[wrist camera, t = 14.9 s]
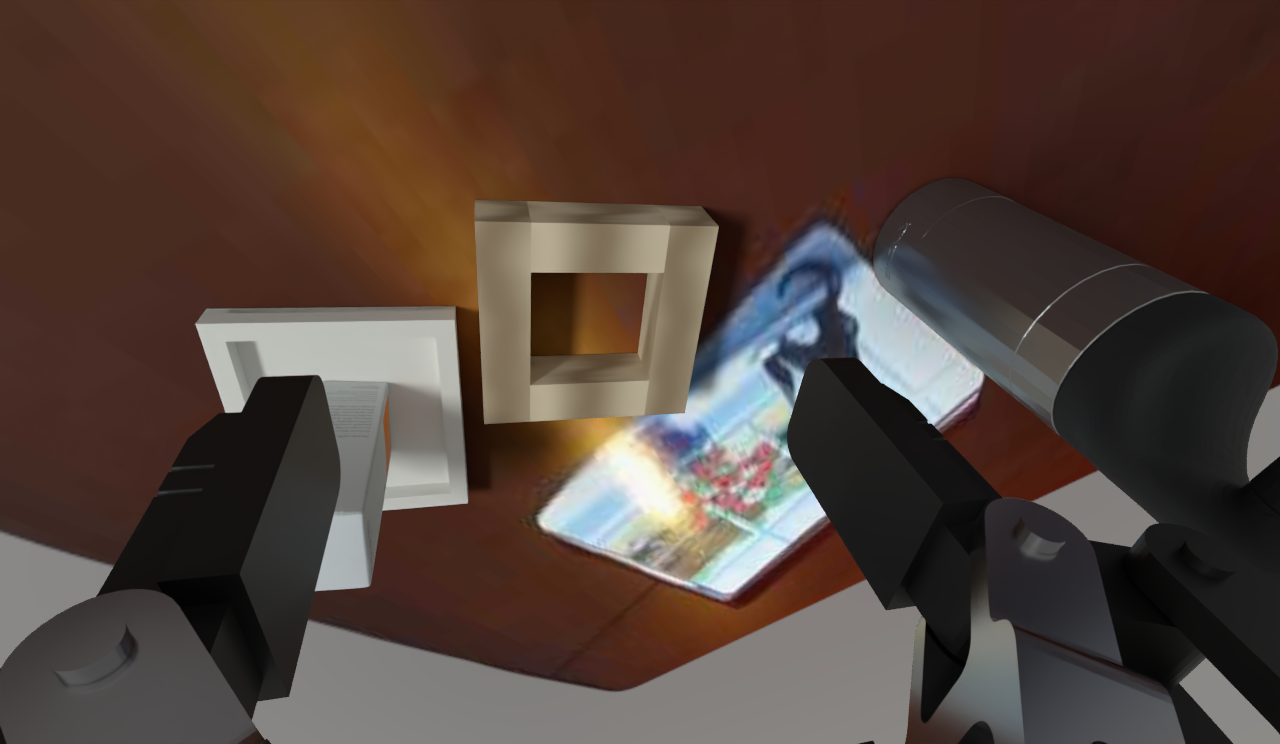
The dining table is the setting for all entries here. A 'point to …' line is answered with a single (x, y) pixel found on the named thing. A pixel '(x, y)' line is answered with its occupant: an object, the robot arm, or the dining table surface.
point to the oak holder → (590, 243)
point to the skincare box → (357, 481)
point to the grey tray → (360, 379)
